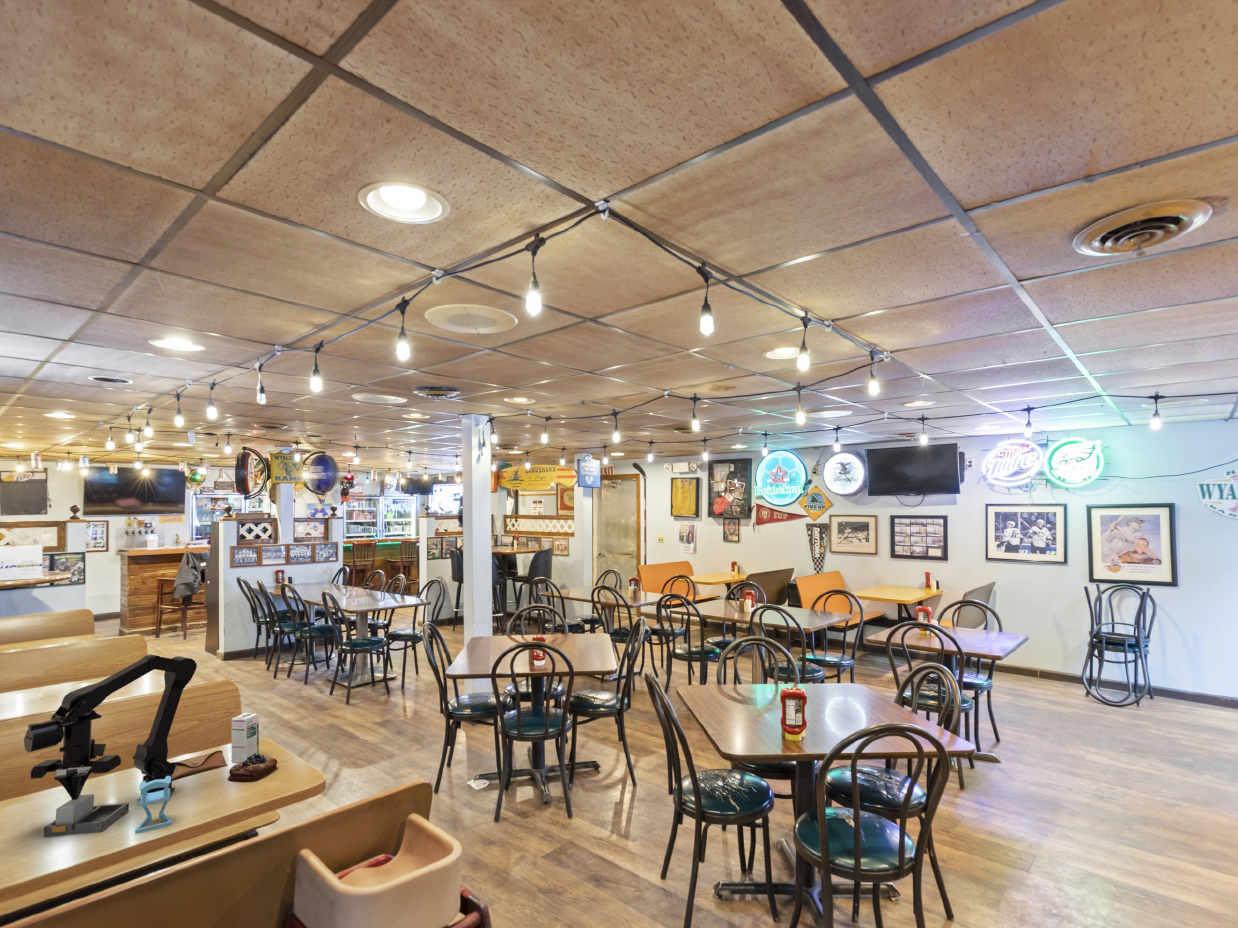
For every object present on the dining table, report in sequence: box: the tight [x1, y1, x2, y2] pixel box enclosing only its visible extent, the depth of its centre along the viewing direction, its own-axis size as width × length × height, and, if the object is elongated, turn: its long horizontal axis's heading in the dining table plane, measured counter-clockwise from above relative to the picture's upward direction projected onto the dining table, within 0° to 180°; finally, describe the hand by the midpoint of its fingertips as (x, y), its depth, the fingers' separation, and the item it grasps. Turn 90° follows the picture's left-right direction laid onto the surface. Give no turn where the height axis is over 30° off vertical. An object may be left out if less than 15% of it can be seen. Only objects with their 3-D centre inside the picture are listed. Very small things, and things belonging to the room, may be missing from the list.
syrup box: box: [231, 712, 260, 764], centre depth 210 cm, size 6×6×14 cm
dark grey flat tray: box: [43, 802, 130, 838], centre depth 168 cm, size 14×11×2 cm
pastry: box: [227, 753, 278, 783], centre depth 198 cm, size 11×12×6 cm
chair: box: [134, 776, 173, 835], centre depth 168 cm, size 8×8×12 cm
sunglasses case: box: [171, 750, 229, 782], centre depth 202 cm, size 18×7×7 cm
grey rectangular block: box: [55, 793, 95, 825], centre depth 168 cm, size 4×8×5 cm, turn 8°
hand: (75, 798), depth 168 cm, fingers closed
